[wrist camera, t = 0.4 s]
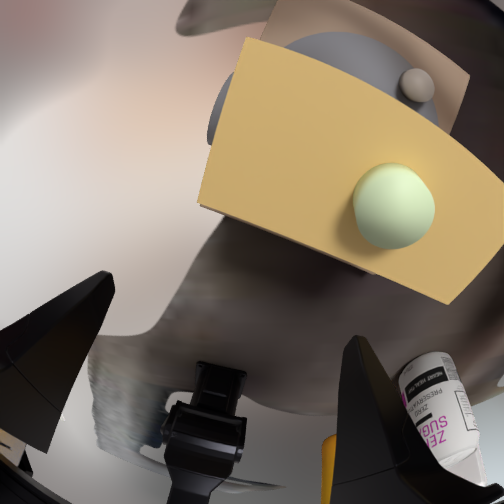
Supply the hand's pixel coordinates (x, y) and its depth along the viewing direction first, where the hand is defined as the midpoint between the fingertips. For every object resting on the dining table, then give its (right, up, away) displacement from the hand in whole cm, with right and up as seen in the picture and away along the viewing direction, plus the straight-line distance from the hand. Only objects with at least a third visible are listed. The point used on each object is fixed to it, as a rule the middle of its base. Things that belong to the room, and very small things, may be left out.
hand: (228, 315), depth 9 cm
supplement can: (+24, -14, +21) cm, 35 cm away
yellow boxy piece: (+7, +10, +6) cm, 14 cm away
